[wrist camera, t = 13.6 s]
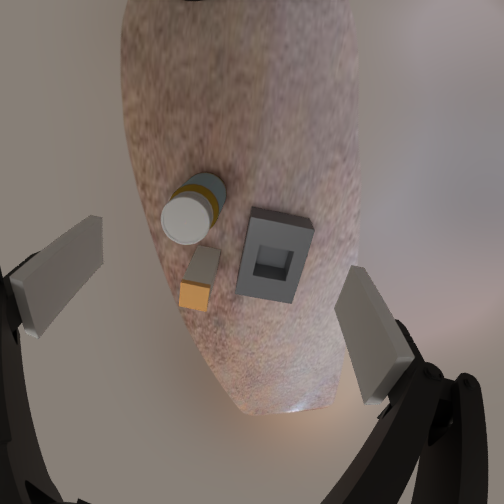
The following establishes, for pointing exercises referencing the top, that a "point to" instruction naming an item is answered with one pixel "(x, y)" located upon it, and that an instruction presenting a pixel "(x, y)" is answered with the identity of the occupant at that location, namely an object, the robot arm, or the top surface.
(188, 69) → the top surface
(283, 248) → the gray socket block
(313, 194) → the top surface
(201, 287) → the plug
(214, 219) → the bottle
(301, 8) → the top surface
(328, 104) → the top surface
